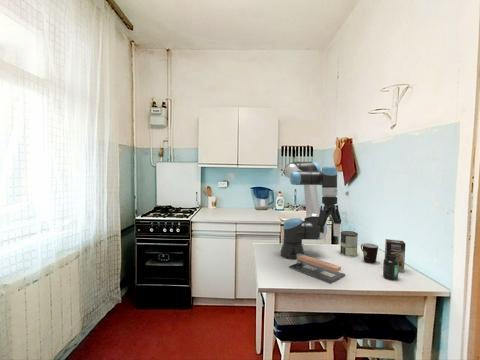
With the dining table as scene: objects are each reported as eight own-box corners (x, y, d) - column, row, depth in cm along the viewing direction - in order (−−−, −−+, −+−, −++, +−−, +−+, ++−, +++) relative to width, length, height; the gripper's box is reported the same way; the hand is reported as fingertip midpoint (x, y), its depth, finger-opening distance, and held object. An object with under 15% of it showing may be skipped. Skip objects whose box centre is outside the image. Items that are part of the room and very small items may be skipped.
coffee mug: (379, 264, 156) (380, 248, 155) (363, 263, 157) (364, 247, 157) (373, 258, 167) (374, 242, 166) (359, 257, 169) (359, 241, 168)
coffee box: (385, 270, 147) (386, 241, 146) (383, 266, 153) (384, 238, 152) (404, 273, 144) (405, 243, 143) (402, 268, 150) (403, 240, 149)
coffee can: (337, 254, 174) (338, 232, 173) (344, 250, 181) (344, 230, 181) (353, 258, 167) (353, 235, 166) (359, 254, 174) (360, 232, 173)
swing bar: (294, 259, 153) (294, 254, 153) (299, 257, 156) (299, 253, 156) (336, 273, 134) (336, 268, 134) (340, 270, 137) (340, 266, 136)
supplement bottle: (399, 281, 134) (400, 257, 133) (384, 279, 136) (385, 256, 135) (395, 275, 140) (396, 253, 140) (381, 274, 142) (382, 252, 142)
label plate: (289, 267, 151) (289, 261, 151) (304, 262, 160) (304, 255, 160) (330, 283, 131) (330, 276, 131) (345, 276, 140) (345, 269, 140)
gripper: (323, 196, 127) (323, 241, 126) (347, 196, 144) (348, 235, 143) (309, 196, 132) (309, 239, 132) (334, 195, 149) (334, 234, 149)
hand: (329, 237), depth 137 cm, fingers open, 13 cm apart
